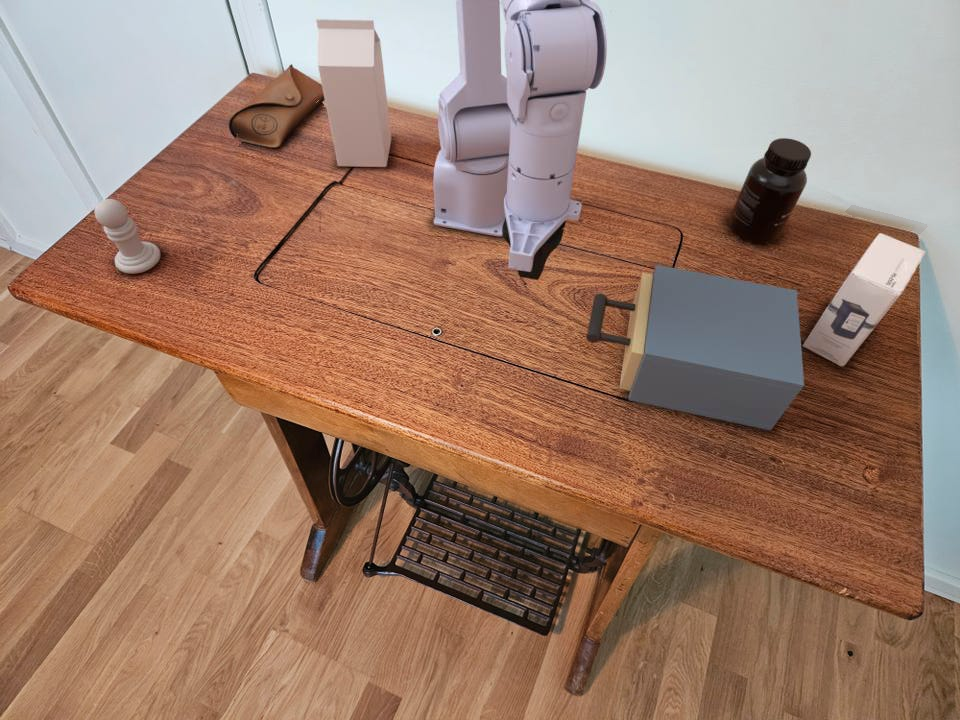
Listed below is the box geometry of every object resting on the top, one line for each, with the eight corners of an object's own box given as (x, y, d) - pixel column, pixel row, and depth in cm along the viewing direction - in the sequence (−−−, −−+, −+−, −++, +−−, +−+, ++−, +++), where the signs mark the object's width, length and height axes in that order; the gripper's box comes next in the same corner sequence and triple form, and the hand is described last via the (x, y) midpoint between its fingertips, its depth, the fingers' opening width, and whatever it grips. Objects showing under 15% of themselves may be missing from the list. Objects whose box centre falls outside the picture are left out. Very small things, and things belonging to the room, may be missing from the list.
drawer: (577, 379, 66) (585, 342, 61) (592, 303, 73) (601, 264, 68) (750, 416, 63) (774, 380, 58) (749, 334, 70) (771, 296, 65)
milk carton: (386, 168, 90) (369, 33, 75) (337, 167, 90) (311, 32, 75) (391, 140, 94) (376, 7, 79) (345, 139, 94) (321, 6, 79)
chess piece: (109, 274, 76) (72, 216, 69) (126, 245, 79) (92, 186, 72) (152, 276, 76) (119, 218, 69) (168, 246, 79) (138, 188, 72)
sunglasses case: (280, 148, 92) (249, 107, 88) (251, 160, 96) (220, 122, 92) (336, 88, 102) (311, 50, 98) (308, 102, 106) (283, 65, 102)
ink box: (828, 304, 74) (880, 228, 65) (870, 325, 73) (929, 249, 63) (800, 346, 70) (851, 271, 61) (843, 369, 68) (902, 295, 59)
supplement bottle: (782, 248, 80) (824, 170, 71) (728, 241, 81) (762, 162, 72) (777, 215, 84) (816, 136, 75) (726, 208, 85) (758, 129, 76)
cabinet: (628, 400, 66) (645, 353, 59) (639, 314, 73) (656, 264, 67) (770, 431, 63) (804, 385, 57) (767, 339, 71) (797, 290, 65)
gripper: (574, 221, 48) (555, 333, 59) (600, 121, 57) (579, 235, 67) (486, 205, 49) (483, 319, 60) (524, 109, 58) (516, 223, 68)
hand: (529, 273), depth 64 cm, fingers closed
